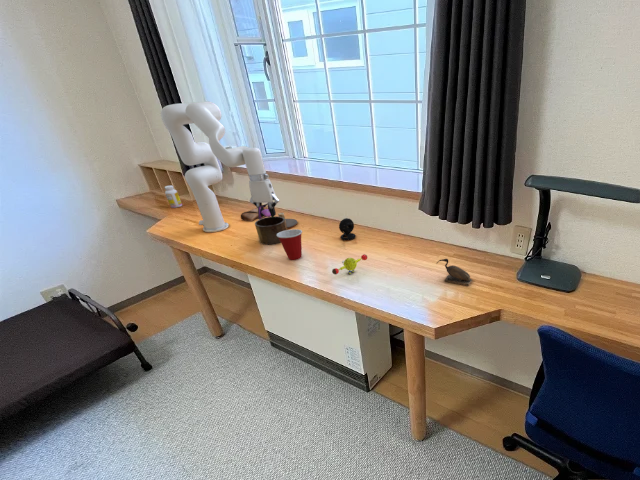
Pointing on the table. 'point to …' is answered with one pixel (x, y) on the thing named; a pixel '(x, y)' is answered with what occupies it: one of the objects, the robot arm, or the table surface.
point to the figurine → (456, 275)
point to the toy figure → (349, 264)
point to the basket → (270, 229)
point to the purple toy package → (264, 211)
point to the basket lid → (288, 221)
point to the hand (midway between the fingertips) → (268, 215)
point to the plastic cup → (291, 243)
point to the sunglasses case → (251, 214)
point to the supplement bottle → (173, 197)
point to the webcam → (347, 229)
